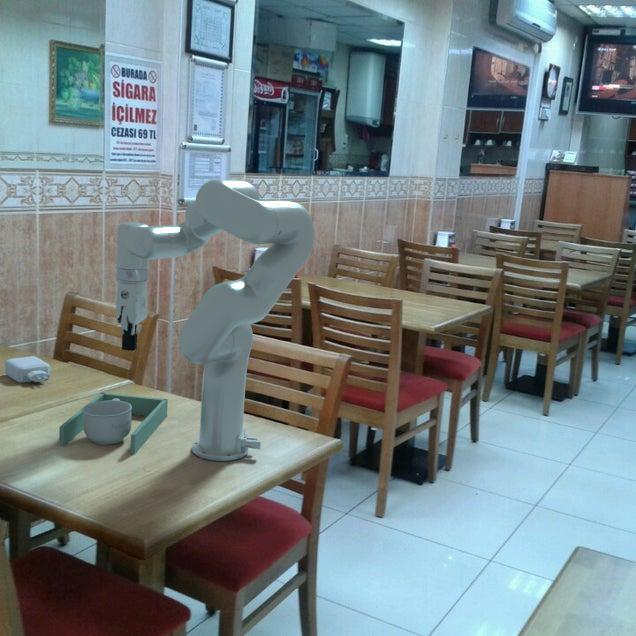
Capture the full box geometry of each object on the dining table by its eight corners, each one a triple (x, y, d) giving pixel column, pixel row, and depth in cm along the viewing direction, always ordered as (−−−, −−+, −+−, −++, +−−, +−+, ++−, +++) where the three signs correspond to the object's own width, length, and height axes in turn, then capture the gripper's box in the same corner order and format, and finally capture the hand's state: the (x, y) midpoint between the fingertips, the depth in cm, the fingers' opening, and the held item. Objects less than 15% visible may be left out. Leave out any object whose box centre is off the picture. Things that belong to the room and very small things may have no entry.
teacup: (117, 451, 165) (118, 417, 163) (72, 444, 166) (72, 410, 165) (144, 431, 178) (145, 398, 176) (102, 424, 180) (103, 392, 178)
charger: (26, 390, 201) (4, 375, 211) (59, 385, 207) (36, 371, 217) (26, 373, 200) (4, 359, 210) (59, 368, 206) (37, 355, 216)
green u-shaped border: (167, 416, 189) (167, 399, 188) (134, 454, 164) (135, 434, 163) (101, 409, 190) (101, 392, 189) (59, 446, 165) (59, 426, 164)
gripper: (137, 281, 170) (134, 359, 174) (156, 272, 185) (153, 344, 189) (105, 278, 171) (103, 355, 174) (127, 269, 185) (124, 340, 189)
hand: (129, 349), depth 181 cm, fingers closed
